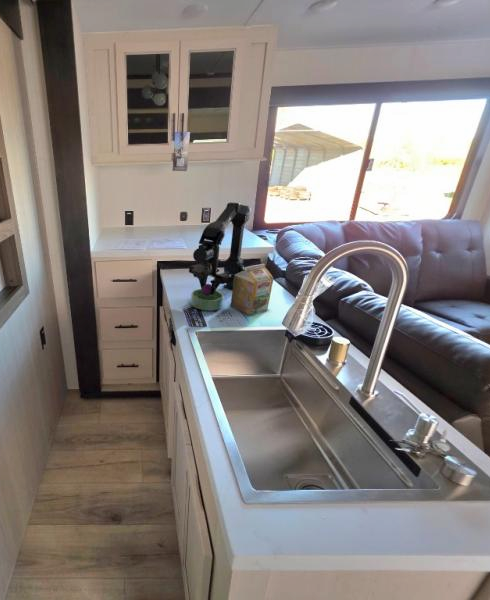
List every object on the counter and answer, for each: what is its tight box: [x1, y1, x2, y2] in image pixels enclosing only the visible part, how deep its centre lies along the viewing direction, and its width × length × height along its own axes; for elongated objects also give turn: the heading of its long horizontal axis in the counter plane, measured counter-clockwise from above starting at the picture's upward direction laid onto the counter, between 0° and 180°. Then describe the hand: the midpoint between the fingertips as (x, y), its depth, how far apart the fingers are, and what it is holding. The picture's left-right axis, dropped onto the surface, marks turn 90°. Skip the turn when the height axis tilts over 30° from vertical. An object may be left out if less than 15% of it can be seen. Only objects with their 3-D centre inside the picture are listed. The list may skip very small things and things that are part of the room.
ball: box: [202, 283, 212, 296], centre depth 134 cm, size 5×5×5 cm
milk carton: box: [229, 263, 274, 316], centre depth 130 cm, size 11×11×19 cm
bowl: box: [190, 288, 224, 312], centre depth 136 cm, size 13×13×5 cm
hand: (207, 292), depth 135 cm, fingers closed on ball, 5 cm apart
